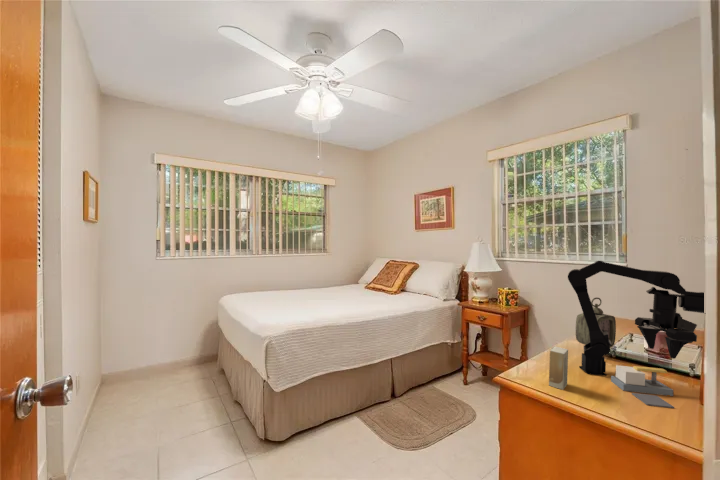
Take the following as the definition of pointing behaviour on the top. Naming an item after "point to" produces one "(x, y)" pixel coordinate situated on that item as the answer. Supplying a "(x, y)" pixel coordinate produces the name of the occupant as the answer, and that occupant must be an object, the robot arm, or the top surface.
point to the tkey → (653, 370)
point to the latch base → (644, 387)
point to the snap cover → (630, 375)
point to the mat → (652, 400)
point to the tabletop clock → (603, 320)
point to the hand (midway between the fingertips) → (661, 353)
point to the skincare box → (558, 367)
